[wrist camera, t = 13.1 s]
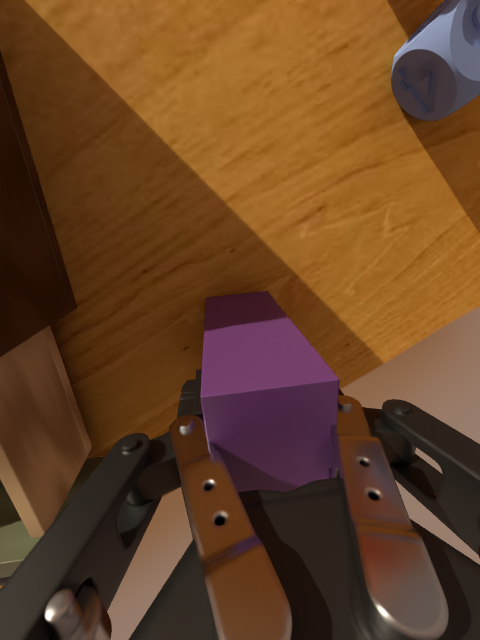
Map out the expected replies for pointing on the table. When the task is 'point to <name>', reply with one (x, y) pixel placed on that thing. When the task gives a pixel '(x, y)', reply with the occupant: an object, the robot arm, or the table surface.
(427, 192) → the table surface
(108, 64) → the table surface
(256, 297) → the snack box
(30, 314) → the cabinet
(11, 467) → the drawer
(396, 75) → the decorative dice
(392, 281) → the table surface
